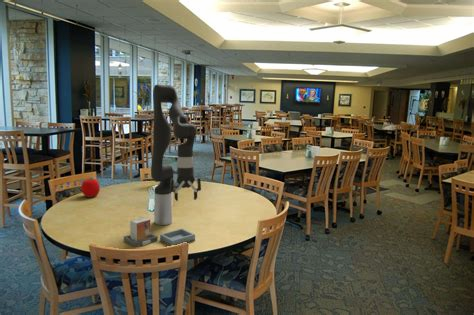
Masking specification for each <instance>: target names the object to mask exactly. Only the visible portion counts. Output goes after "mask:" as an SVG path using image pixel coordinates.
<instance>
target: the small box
mask: <svg viewBox="0 0 474 315" xmlns="http://www.w3.org/2000/svg"><path fill="white" fill-rule="evenodd" d="M129 223H130V224H129V227H130V232H129V233H130V234H129V235H131V240H133V241H134V242H137V241H140V240H144V239H148V238H151V237H150V233H151V219H150V218H147V217H144V216H143V217H140V218H136V219H132V220H130V221H129Z"/></svg>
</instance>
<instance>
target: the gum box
mask: <svg viewBox="0 0 474 315" xmlns="http://www.w3.org/2000/svg"><path fill="white" fill-rule="evenodd" d="M177 160H178V155H177V156H176V155H165V154H164V156H163V164H164V163H169V164H170V165H171V166H172V168H173V179H177V177H178V171H177ZM160 182H161V181H160ZM160 182H159V184H160ZM159 184H158V185H159ZM177 186H178V182H177V181H176V182H175V184H174V187H177Z"/></svg>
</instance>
